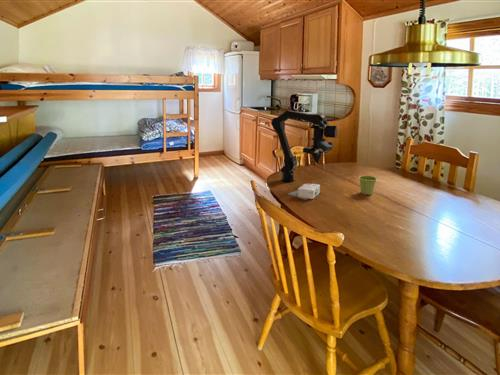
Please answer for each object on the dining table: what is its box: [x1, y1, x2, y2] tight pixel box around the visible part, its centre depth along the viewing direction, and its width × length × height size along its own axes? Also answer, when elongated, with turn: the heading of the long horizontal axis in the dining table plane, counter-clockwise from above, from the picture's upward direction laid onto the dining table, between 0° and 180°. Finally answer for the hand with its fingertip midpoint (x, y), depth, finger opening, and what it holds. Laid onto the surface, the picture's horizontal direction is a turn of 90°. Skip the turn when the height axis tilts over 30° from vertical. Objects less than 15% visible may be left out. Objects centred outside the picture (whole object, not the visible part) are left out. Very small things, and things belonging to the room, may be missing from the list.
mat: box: [287, 189, 319, 201], centre depth 199 cm, size 13×11×1 cm
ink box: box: [297, 182, 321, 200], centre depth 197 cm, size 9×5×12 cm
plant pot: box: [358, 175, 378, 195], centre depth 199 cm, size 9×9×9 cm
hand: (316, 163), depth 212 cm, fingers closed
